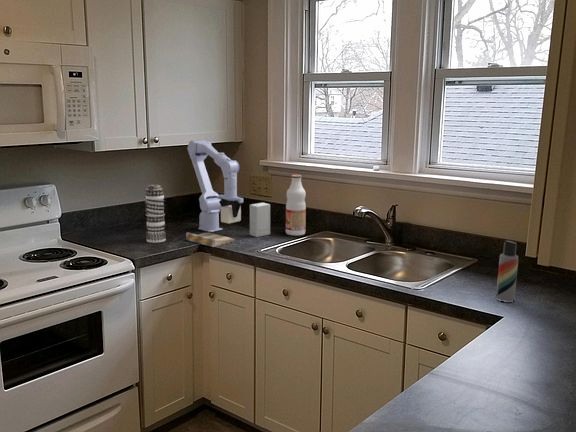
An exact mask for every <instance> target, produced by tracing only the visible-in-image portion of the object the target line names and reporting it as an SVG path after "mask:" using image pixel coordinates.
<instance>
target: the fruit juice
mask: <svg viewBox="0 0 576 432" xmlns="http://www.w3.org/2000/svg"><path fill="white" fill-rule="evenodd" d="M290 179H291V182H290V185H289V188H288V189H287V190H286V199H287V200H286V204H285V233H286V235H289V236H303V235H305V234H306V225H307V224H306V223H307V221H306V216H307V213H306V212H307V211H306V210H307V207H306V206H307V205H306V201H305V199H306V196H307V195H306V194H307V193H306V190H305V188H304V187H303V183H302V175H301V174H292V175H291V177H290Z"/></svg>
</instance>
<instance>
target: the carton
mask: <svg viewBox="0 0 576 432" xmlns="http://www.w3.org/2000/svg"><path fill="white" fill-rule="evenodd" d="M241 208H242V205H241V206H240V209H239V211H238V215H237V217H233V211H232V206H231V204H230V205H229V206H224V207H221V209H220V222H221V223H225V224H233V223H237V222H240V221H241V220H242V209H241Z"/></svg>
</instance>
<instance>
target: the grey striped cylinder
mask: <svg viewBox="0 0 576 432" xmlns="http://www.w3.org/2000/svg"><path fill="white" fill-rule="evenodd" d="M144 189H145V201H144V208H145V210H144V211H145V213H144V214H145V216H146V225H145V228H146V229H145V231H146V233H145V234H146V236H145V238H146V242H147V243H153V244H154V243H155V244H156V243H162V242H163V243H164V242H165V241H166V240H167V239H166V237H167V236H166V234H167V233H166V229H167V228H166V226H167V225H166V223H165V215H166V212H164V211H165V210H166V208H165V207H166V204H164V203H165V202H166V197H165V195H164V187H163V186H162V185H161V184H156V183H155V184H154V183H153V184H148V185H147V186H146V188H144Z"/></svg>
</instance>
